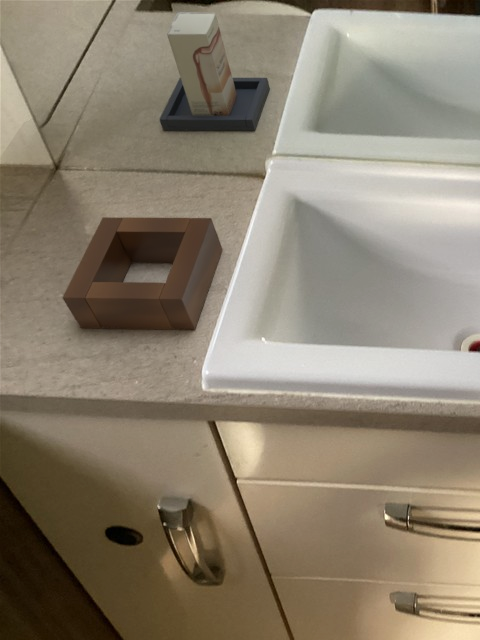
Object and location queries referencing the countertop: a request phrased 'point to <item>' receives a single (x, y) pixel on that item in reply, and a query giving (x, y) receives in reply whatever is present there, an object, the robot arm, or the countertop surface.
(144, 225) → the frame
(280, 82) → the countertop surface
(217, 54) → the printed product carton
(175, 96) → the tray
